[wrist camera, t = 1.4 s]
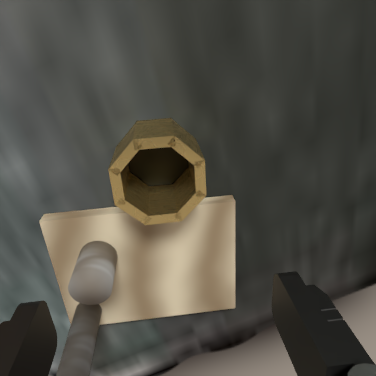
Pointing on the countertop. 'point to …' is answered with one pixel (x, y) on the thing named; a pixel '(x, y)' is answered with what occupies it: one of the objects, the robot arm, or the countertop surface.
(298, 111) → the countertop surface
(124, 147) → the brass collar
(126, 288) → the maple board
